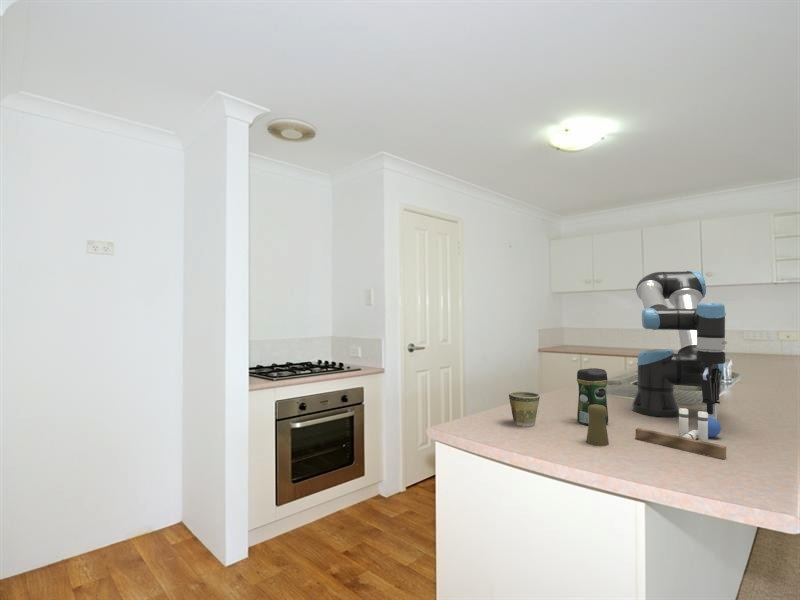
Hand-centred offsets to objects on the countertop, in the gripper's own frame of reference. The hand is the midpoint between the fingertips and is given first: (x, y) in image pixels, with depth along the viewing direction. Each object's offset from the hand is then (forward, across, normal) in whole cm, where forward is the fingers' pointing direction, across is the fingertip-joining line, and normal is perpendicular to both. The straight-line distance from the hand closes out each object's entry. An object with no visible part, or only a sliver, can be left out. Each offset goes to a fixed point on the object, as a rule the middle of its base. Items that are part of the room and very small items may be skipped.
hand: (711, 423), depth 141 cm
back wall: (+2, -28, 0) cm, 28 cm away
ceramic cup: (+2, -40, +42) cm, 58 cm away
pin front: (+1, -14, 0) cm, 14 cm away
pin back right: (+2, -16, -2) cm, 17 cm away
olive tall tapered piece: (+2, -42, +16) cm, 45 cm away
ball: (-1, -10, -2) cm, 10 cm away
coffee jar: (+2, -22, +28) cm, 36 cm away
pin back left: (+2, -16, +2) cm, 17 cm away
